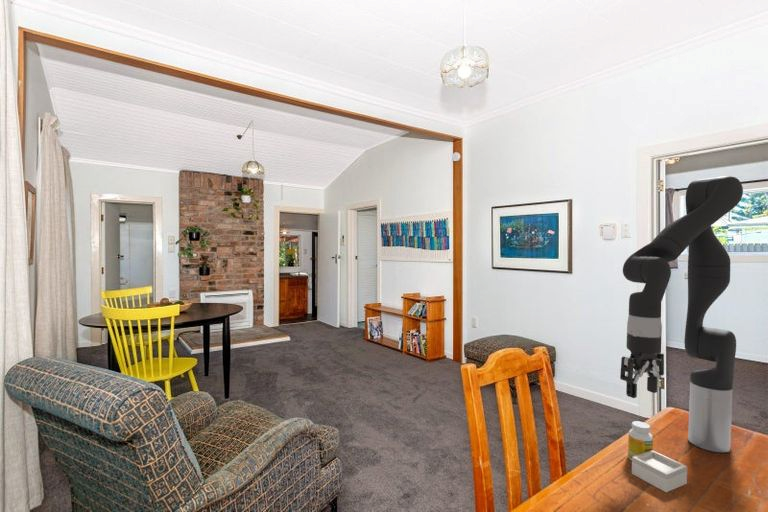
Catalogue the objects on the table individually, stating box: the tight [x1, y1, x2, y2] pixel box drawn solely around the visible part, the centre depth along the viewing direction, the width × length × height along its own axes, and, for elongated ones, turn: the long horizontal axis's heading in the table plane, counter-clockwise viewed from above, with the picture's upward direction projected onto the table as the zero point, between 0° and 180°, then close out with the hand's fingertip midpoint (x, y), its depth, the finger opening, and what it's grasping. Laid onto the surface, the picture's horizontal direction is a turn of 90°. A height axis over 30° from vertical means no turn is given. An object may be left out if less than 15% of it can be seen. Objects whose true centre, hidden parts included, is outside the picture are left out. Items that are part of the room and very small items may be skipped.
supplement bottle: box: [627, 420, 654, 462], centre depth 103 cm, size 5×5×10 cm
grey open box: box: [631, 450, 688, 493], centre depth 95 cm, size 8×8×4 cm
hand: (641, 394), depth 102 cm, fingers open, 8 cm apart
